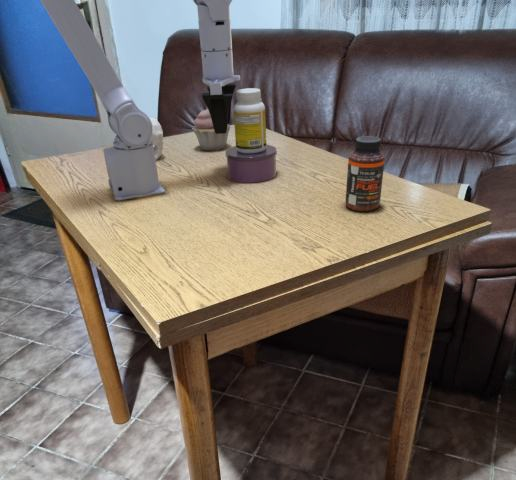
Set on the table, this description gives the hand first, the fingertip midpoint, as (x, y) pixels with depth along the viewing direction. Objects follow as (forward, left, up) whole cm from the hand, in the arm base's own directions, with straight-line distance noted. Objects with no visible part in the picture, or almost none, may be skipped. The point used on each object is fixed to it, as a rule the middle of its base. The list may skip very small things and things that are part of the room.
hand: (222, 128), depth 102 cm
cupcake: (+4, +23, -10) cm, 25 cm away
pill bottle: (+5, -2, -5) cm, 7 cm away
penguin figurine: (-14, +22, -10) cm, 28 cm away
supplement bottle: (+16, -28, -10) cm, 34 cm away
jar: (+5, -2, -9) cm, 11 cm away
